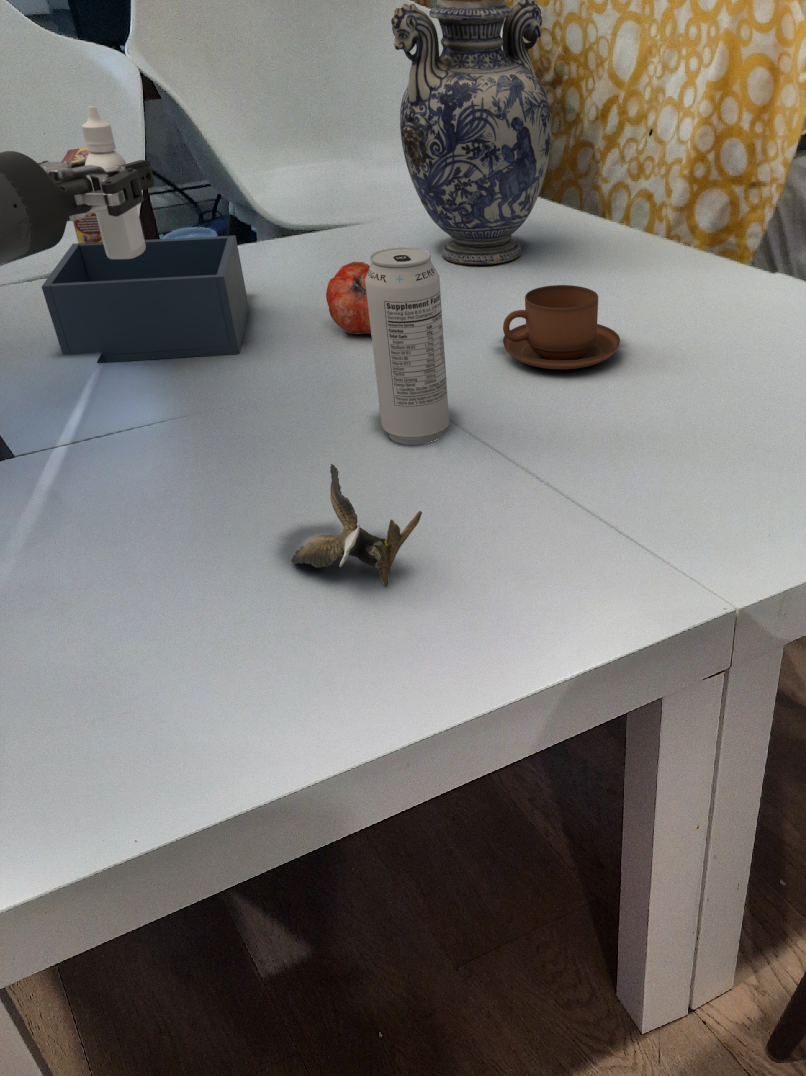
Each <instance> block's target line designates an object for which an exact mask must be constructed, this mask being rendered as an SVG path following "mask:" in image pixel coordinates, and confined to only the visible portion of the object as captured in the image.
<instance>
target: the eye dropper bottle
mask: <svg viewBox="0 0 806 1076" xmlns="http://www.w3.org/2000/svg"><path fill="white" fill-rule="evenodd" d="M86 109H87V121H86V122H85V123H83V124H82V125H81V130H82V134H83V138H84V142H85V146H86V148H87V150H88V151H90V153H89V154H88V157H87V159H86V162H85V166H87V165H95V166H100V167H102V168H103V169H106V168H111V167H115V166H116V165H124V164H127V162H126V160H125V158H124V157H123V156H122V155H121V154H120V153H118V152H117V151H116V149H117V148H116V142H115V139H114V135H113V131H112V126H111V124H110V123H109V122H107V121H104V120H103V119H102V118H101V116H100V114H99V111H98V109H97V107H96V106H95V105H89V106H86ZM87 178H88V179H89V180H90V181H91V177H90V175H87ZM109 178H111V177H108V178H107V179H109ZM91 183H92V181H91ZM92 187H93V185H92ZM93 191H94V189H93ZM137 206H138V205H136V206H135V207H133V208H132V209H130V210H129V211H127V212H125V213H124V214H122V215H120V216H117V217H114V216H110V215H109V214H108V210H105V211H100V212H96V217H97V221H98V225H99V228H100V232H101V236H102V240H103V244H104V248H105V252H106V255H107V257H108V258H110V259H132V258H135V257H137V256H139V255H141V254H142V253H143V252H144V251H145V248H146V245H145V240H146V239H145V236H144V233H143V232H144V231H143V227H142V223H141V219H140V215H139V210H138V207H137Z"/></svg>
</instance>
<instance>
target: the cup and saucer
mask: <svg viewBox="0 0 806 1076" xmlns="http://www.w3.org/2000/svg"><path fill="white" fill-rule="evenodd" d="M598 314H599V295H598V293H597V292H596V291H595V290H593V289H591V288H587V287H585V286H579V285H572V284H571V285H570V284H568V285H567V284H554V285H545V286H540V287H537V288H534V289H531V290H529V291H528V292H526V294H525V295H524V309H518V310H517V309H516V310H514V311H512V312H510V313H509V314H507V316H506V317H505V318H504V320H503V323H502V330H503V334H504V336H503V338H502V344H503V347H504V349H505V351H506V352H507V353H508V354H509V355H510V356H511V357H512V358H513V359H515V360H516V361H518V362H520V363H523V364H526V365H528V366H532V367H535V368H540V369H547V370H549V369H550V370H574V369H582V368H587V367H591V366H595V365H597V364H600V363H602V362H604V361H606V360H608V359H609V358H610V357H612V356H613V355H614V354H615V353H616V352H617V351H618V349H619V347H620V343H621V338H620V335H619V334H618V333H617V332H616V331H615V330H614V329H612V328H610V327H607V326H606V325H603V324H599V323H598V318H599V317H598V316H599V315H598ZM516 318H522V319H525V323H524V324H521V325H519V326H516V327H513V328H512V329H510V326H511V323H512V322H513V320H514V319H516Z"/></svg>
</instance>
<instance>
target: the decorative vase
mask: <svg viewBox="0 0 806 1076" xmlns="http://www.w3.org/2000/svg"><path fill="white" fill-rule="evenodd" d="M393 13H394V15H393V16H392V18H391V20H390V22H391V29H392V30H391V31H392V33H393V36H394V42H393V47H394V49H395V50H396V51H399V50H401V51H403V52H404V54H405V57H406V58H407V59H408V60H409V61H410V62H411V66H410V69H409V75H408V83H407V85H406V88H405V90H404V93H403V95H402V99H401V102H400V109H399V110H400V111H399V130H400V138H401V139H400V140H401V146H402V150H403V156H404V160H405V164H406V168H407V172H408V175H409V177H410V179H411V182H412V185H413V188H414V190H415V192H416V194H417V196H418V198H419V200H420V202H421V204H422V206H423V208H424V209H425V212H426V213H427V214H428V216H429V217H430V219H431V220H432V221H433V223H435V225H436V226H437V227H438V228H439V229H440V230H441V231H443V232H444V233H446V234H447V235H448V236H450V238H451V240H449V241H448V242H447V243H446V244H445V245H444V246H443V247H442V250H441V257H442V258H443V259H444V261H447V262H450V263H454V264H458V265H464V266H465V265H466V266H488V265H489V266H490V265H499V264H503V263H507V262H511V261H514V260H516V259H518V258H520V257H521V255H522V253H523V251H522V247H521V244H520V243H519V242H518V241H517V240H515V239H513V238H512V235H513V234H514V233H516V232H517V230H519V229H520V227H522V226H523V224H524V223H525V222H526V221H527V219H528V218H529V216H530V214H531V212H532V211H533V208H534V207H535V205H536V202H537V201H538V197H539V196H540V193H541V190H542V187H543V183H544V180H545V177H546V174H547V173H546V172H547V169H548V166H549V165H548V164H549V159H550V151H551V143H552V120H551V119H552V118H551V111H550V104H549V100H548V96H547V93H546V91H545V88H544V87H543V85H542V83H541V81H540V80H539V79H538V77H537V75H536V72H535V69H534V65H533V60H532V56H531V55H530V52H529V51H530V49H532V48H533V47H535V45H536V44H537V42H538V39H540V38H541V36H542V35H543V34H542V28H541V27H542V25H543V17H542V9H541V8H540V7H539V2H538V1H537V0H518V1H517V3H516V4H515V5H514V6H512V7H510V6H508V5H507V3H506V0H436V6H434V7H432V8H431V9H430V10H429V13H428V14H427V13H426V12H424V11H423V10H421V9H419V8H418V7H417V5H416V4H414V3H410V4H409V5H408V4H407V3H403V4H402V5H401V7H396V8H395V9H394V12H393ZM430 17H431V18H432V19H437V20H438V23H439V27H440V29H441V34H442V37H441V39H440V42H439V36H438V31H437V27H436V25H435V24H434V22H433V20H432V19H431V18H430ZM525 40H526V41H527V42H525ZM439 43H440V44H441V46H442V51H441V53H440V44H439ZM415 47H416V48H415ZM414 48H415V52H414V53H411V52H412V51H413V49H414Z"/></svg>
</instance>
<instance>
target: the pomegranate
mask: <svg viewBox="0 0 806 1076" xmlns="http://www.w3.org/2000/svg"><path fill="white" fill-rule="evenodd" d="M369 268H370V265H369V264H368V263H366V262H364V261H352V262H349V263H347V264H344V265H342V266H341V267H340V268H339V270H337V272H336V273H335V275H334V276H333V277H332V278H330V280H329V281H328V283H327V287H326V290H325V291H326V292H325V298H326V303H327V307H328V312H329V315H330V317H331V319H332V320H333V321H334V323H336V324H337V325H338V327H339V328H341V329H342V330H344V331H345V332H347V333H349V334H352V335H364V334H365V335H366V334H369V335H371V327H370V318H369V309H368V301H367V292H366V283H365V279H366V276H367V273H368V270H369Z"/></svg>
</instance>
